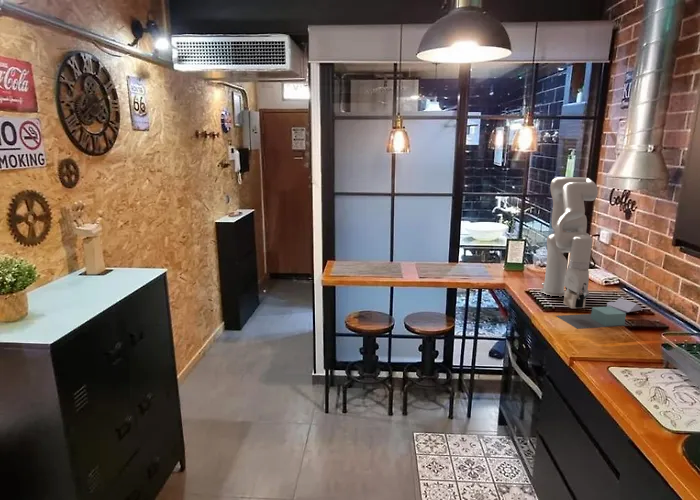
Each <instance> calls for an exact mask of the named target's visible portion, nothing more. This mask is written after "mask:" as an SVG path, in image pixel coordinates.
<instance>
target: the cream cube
mask: <svg viewBox="0 0 700 500" xmlns="http://www.w3.org/2000/svg"><path fill="white" fill-rule="evenodd" d="M564 291H565V295H564V297H563V305H565V306H566V307H569V308H570V309H577V308H576V307H575V305H576V299H578V298H577V293H576V292H573V291H571V290H569V291H566V290H564ZM581 295H582V293H580V296H581ZM586 299H587V297H586V298H585V299H584V302H583V307H582V308H583V309H585V307H586V302H587V301H586ZM582 308H581V309H582Z"/></svg>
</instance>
